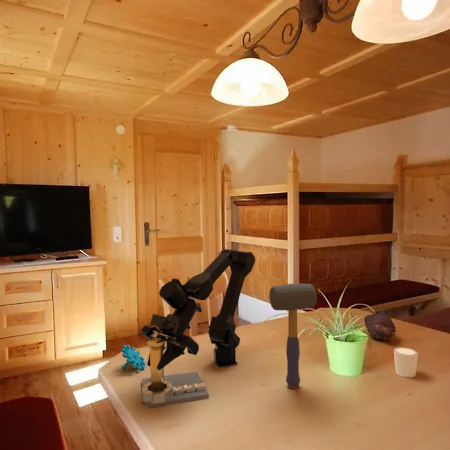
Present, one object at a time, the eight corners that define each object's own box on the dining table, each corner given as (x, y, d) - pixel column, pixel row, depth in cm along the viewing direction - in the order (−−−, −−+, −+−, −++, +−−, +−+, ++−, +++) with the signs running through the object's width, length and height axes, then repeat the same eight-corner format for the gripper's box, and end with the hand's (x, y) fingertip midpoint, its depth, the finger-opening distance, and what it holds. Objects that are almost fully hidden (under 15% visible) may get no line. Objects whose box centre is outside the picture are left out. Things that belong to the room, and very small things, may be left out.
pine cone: (356, 331, 155) (356, 308, 154) (378, 330, 156) (378, 306, 156) (381, 347, 137) (381, 320, 137) (405, 345, 139) (405, 318, 138)
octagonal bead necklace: (196, 371, 116) (196, 364, 116) (208, 395, 101) (207, 386, 101) (140, 379, 111) (139, 371, 111) (143, 405, 97) (143, 396, 97)
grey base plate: (197, 374, 116) (197, 371, 116) (208, 397, 102) (208, 394, 102) (141, 382, 112) (141, 379, 112) (145, 407, 97) (145, 404, 97)
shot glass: (417, 370, 117) (417, 348, 117) (418, 379, 111) (418, 356, 111) (393, 367, 120) (393, 345, 120) (393, 375, 114) (393, 353, 114)
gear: (140, 371, 116) (119, 347, 117) (127, 384, 116) (106, 360, 117) (152, 361, 127) (132, 339, 128) (139, 373, 127) (120, 351, 128)
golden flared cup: (167, 386, 104) (166, 337, 103) (165, 395, 99) (164, 343, 99) (150, 387, 104) (149, 338, 103) (147, 396, 99) (146, 344, 98)
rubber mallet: (307, 378, 113) (307, 280, 112) (318, 389, 106) (318, 285, 105) (268, 382, 110) (267, 282, 109) (277, 395, 103) (276, 287, 102)
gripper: (144, 297, 109) (113, 345, 101) (190, 307, 98) (160, 362, 90) (165, 317, 116) (137, 364, 108) (211, 328, 104) (183, 382, 96)
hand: (153, 367), depth 100 cm, fingers closed on golden flared cup, 4 cm apart
